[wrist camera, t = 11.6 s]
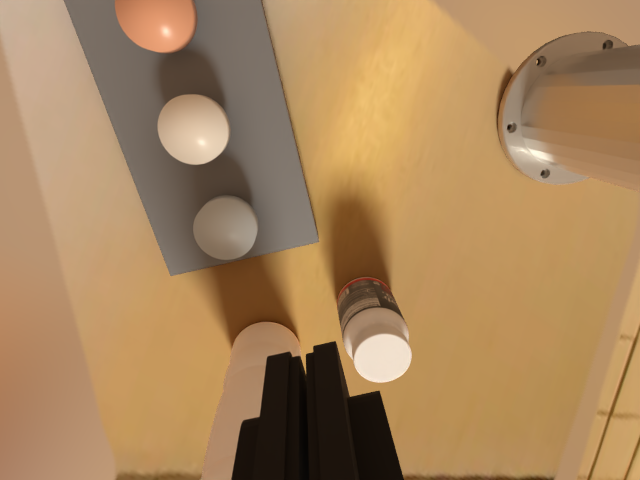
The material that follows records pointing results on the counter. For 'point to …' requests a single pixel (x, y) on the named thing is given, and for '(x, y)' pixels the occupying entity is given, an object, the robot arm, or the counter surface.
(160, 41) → the terracotta button
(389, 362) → the pill bottle
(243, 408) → the water bottle
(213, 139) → the white button
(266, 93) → the button panel
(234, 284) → the counter surface
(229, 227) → the bluegrey button
